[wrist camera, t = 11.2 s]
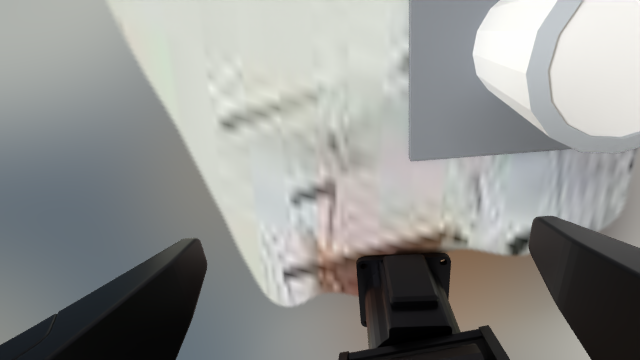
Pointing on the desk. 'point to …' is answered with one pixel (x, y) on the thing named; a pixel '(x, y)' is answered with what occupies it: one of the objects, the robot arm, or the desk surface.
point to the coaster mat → (458, 89)
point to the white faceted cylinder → (566, 68)
